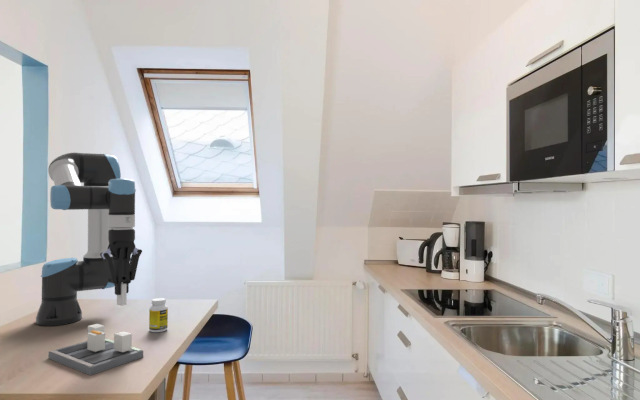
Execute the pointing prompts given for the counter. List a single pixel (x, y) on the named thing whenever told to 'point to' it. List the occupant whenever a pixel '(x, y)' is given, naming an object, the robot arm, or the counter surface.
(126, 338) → the block
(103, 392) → the counter surface
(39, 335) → the counter surface
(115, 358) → the panel
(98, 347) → the breaker mid
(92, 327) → the breaker far
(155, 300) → the pill bottle
